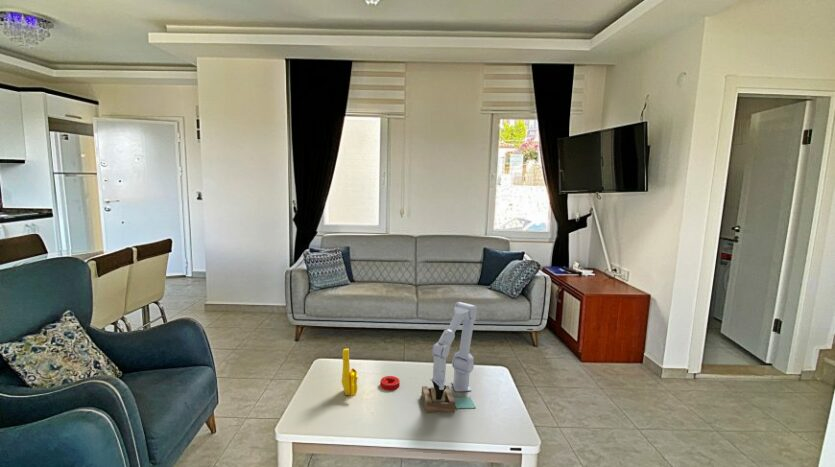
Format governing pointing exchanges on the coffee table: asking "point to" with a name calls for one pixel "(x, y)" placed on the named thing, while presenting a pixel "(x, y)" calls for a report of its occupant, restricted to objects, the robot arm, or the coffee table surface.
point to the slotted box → (438, 406)
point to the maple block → (433, 395)
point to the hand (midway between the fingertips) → (437, 396)
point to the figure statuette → (348, 375)
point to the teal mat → (464, 403)
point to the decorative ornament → (390, 383)
